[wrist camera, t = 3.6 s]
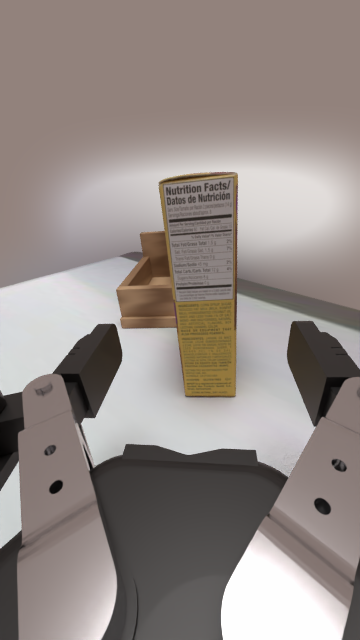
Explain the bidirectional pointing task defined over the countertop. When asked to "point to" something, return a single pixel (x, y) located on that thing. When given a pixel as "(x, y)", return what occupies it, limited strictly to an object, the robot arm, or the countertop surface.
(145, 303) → the brown wooden open box
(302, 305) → the countertop surface
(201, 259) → the candy box
